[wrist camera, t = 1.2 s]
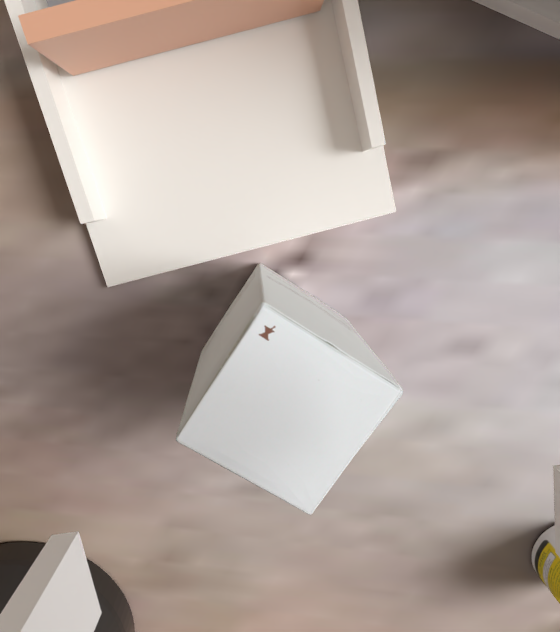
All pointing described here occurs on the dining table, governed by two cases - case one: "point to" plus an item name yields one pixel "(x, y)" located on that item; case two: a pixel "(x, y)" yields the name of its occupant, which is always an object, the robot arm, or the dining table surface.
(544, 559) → the supplement bottle
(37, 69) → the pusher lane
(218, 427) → the supplement box
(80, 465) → the dining table surface
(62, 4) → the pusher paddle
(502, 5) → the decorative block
